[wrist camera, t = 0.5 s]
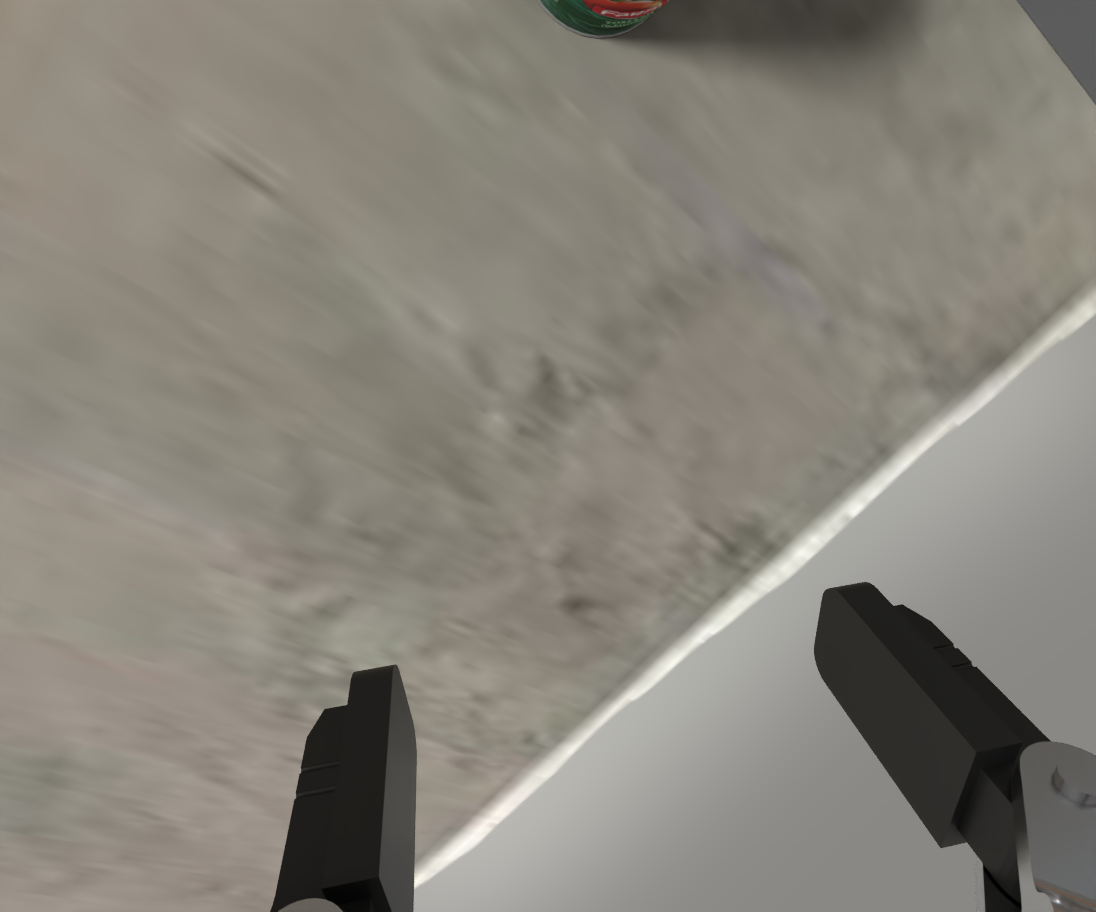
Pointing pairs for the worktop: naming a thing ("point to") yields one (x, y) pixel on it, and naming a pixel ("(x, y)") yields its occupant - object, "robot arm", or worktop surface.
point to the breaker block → (1069, 34)
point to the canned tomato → (600, 15)
